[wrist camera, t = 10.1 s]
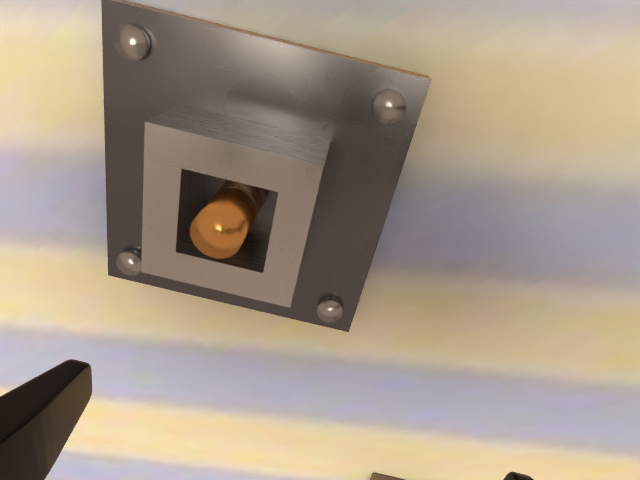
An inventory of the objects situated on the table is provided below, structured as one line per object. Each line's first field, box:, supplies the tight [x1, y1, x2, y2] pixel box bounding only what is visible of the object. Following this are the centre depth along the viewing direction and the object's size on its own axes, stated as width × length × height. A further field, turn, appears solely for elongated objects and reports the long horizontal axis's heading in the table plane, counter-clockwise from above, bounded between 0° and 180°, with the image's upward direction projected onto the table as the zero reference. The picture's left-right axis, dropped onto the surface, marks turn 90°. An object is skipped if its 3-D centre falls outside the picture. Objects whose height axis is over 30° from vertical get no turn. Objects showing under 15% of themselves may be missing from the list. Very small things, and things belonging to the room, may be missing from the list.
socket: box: [141, 104, 330, 308], centre depth 17 cm, size 6×6×3 cm
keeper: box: [102, 0, 431, 332], centre depth 17 cm, size 12×12×5 cm
